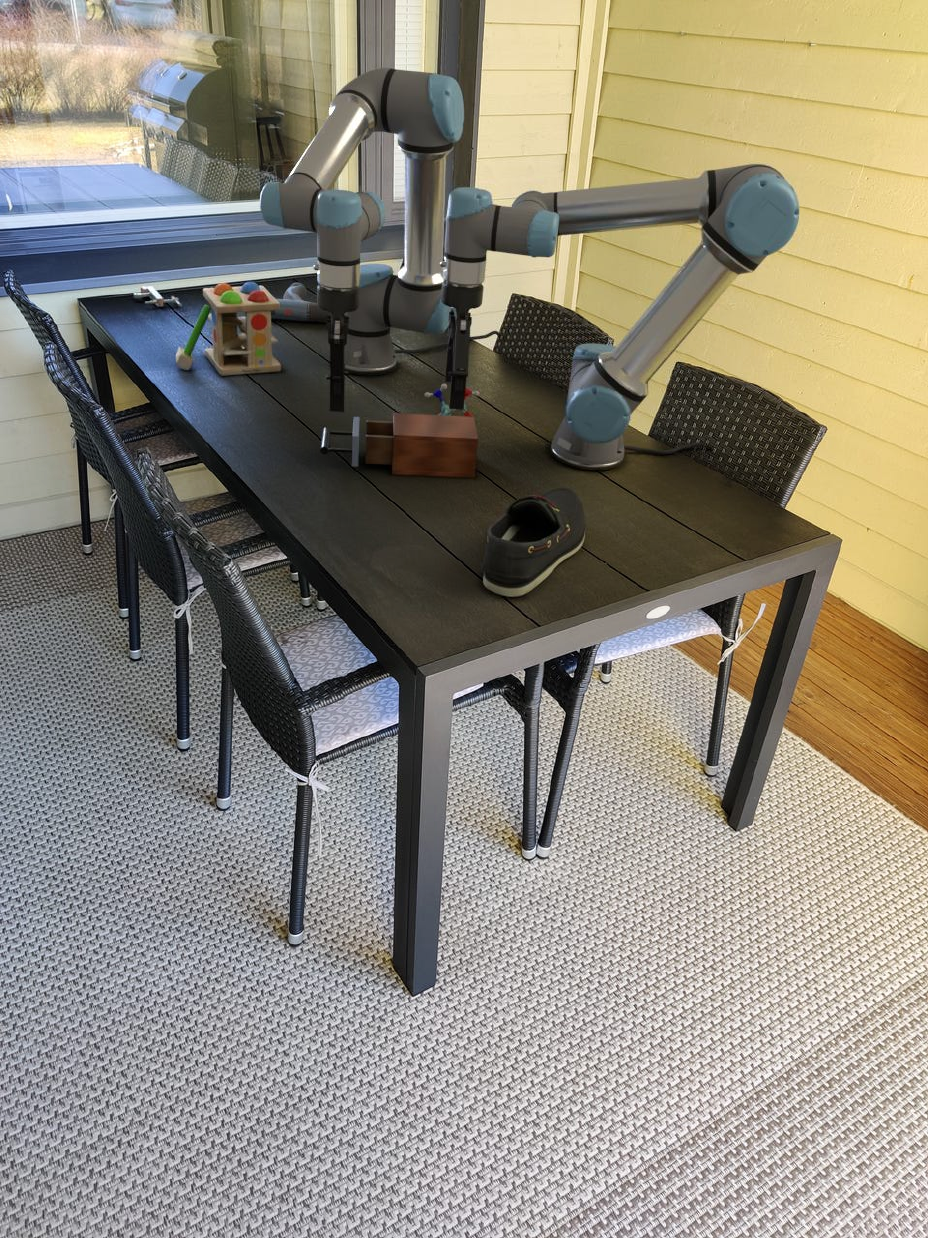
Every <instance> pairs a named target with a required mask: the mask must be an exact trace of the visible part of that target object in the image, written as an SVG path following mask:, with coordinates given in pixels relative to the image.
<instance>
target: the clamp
mask: <svg viewBox="0 0 928 1238" xmlns="http://www.w3.org/2000/svg"><path fill="white" fill-rule="evenodd" d="M133 297H134V299H143V298H149V299H150V300H149V301H144V304H145V305H147V304H149V305H154V304H155V305H156V307H164V305H165V304H171V303H173V304H177V305H178V307H179V308H180V307H183V303H181V302H180V300H179V298H178V297H175V296H174V295H171V296H170V299H164V297H163V296H162V295H161V294H160V293H159V292H158V291H157V290H156V289H155V288H154V287H153V286H151V285H149V286H140V292H134V293H133Z"/></svg>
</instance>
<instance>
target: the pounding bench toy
mask: <svg viewBox="0 0 928 1238" xmlns="http://www.w3.org/2000/svg"><path fill="white" fill-rule="evenodd" d="M202 296H203V298H204V299H205V300H206V301H207V302H208V304H209V305H208V304H204V305H203V307H202V309H201V312H200V313H199V316H198V318H197V320H196V322H195V324H194V327H193V329H192V331H191V332H190V333H191V334H190V336H189V338H188V340H187V343H186V344H185V347H184V348H182V347H180V346H179V347H178V349H177V351H176V354H175V357H174V358H175V362H176V365H177V366H178V368H179V369H182V370H185V371H189V370H190V369H191V367H192V365H193V363H194V356H193V351H194V348H195V347H196V345H197V342H198V340H199V337H200V336H201V333H202V332H203V329H204V326H205V325H206V322H207V320H209V321H210V322H211V336H212V337H211V338H212V339H211V340H212V348H205V349H204V352H205V353H204V355H205V357H206V359H208V361H209V363H210V364H211V365H212V366H213V367H214V369H215V370H216V371H217V372H218V374H219V375H220V376H222V377H223V376H234V375H235V376H236V375H246V374H247V375H250V374H262V373H275V372H281V370H282V364H281V363H280V362H279V360H278V359H277V358H276V357H275V356H274V355H273V348H272V347H273V345H272V344H276V343H278V342H279V341H278V339H277V338H276V337H275V336H274V334H272V318H271V310H280V303H279V302H278V301H277V300H276V299H277V298H276V297H274V296H273V295H272V294H271V293H270V292H269V290H268V289H267V288H266V287H264V285H259V284H257V283H256V282H255V281H247V282H245V283H244V284H243V285H242V286H232V285H230V284H229V283H226V282H221V283H218V284H217V285H216V286H215V287H204V288H203V289H202ZM238 313H244V314H245V315H244V316H238ZM238 329H239V331H240V333H239V334H238Z"/></svg>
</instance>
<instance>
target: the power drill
mask: <svg viewBox="0 0 928 1238" xmlns="http://www.w3.org/2000/svg"><path fill="white" fill-rule="evenodd" d="M307 295H308V290H307V287H306V285H304V284H303V283H301V282H293V283H292V284H291V285H290V286H289V287H288V288H287V289H286V291H285V292H284V294H283V297H282V298H275V299H276V300H277V301H278V302H279V303H280V310H271V319H274V320H275V319H276V320H283V321H294V322H295V321H297V322H327V315H331V312H329V311H325V310H322V309H321V308H319V307H318V305H317V302H313V301H307V300H305V299H306V297H307Z"/></svg>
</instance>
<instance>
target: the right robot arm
mask: <svg viewBox="0 0 928 1238" xmlns="http://www.w3.org/2000/svg"><path fill="white" fill-rule="evenodd" d="M799 202H800V201H799V199H798V195H797V192H796V191H795V189H794V187H793V186H792V185H791V184H790V183H789V181H788V180H787V179H786V178H785V177H784V176H783V174H782V173H781V172H780V171H779V170H777V169H776V168H774V167H772V166H771V165H768V164H763V163H749V164H743V165H737V166H730V167H723V168H719V169H708V170H704V171H703V172H702V173H701V174H700V175H699V176H698V177H693V178H682V179H673V180H662V181H651V182H642V183H631V184H622V185H621V184H620V185H611V186H600V187H592V188H581V189H571V190H562V191H555V192H553V191H552V192H551V191H550V192H541V191H538V190H528V191H525V192H523V193H521V194H520V195H518V196H517V197H516V199H515V200H514V201H513V202H512V204H511V206H505V205H499V204H496V203H494V202H493V195H492V193H491V192H490V191H489V190H487V189H483V188H479V187H471V186H466V187H465V186H463V187H461V186H460V187H456V188H454V189H453V190H452V191H451V192H449V195H448V203H447V211H446V216H445V234H444V235H445V236H444V250H443V261H441V262H440V266H441V267H444V268H443V278H444V279H445V280H444V281H443V282H442V292H441V301H442V303H443V304H444V305H446V306H449V307H451V311H449V325H448V328H447V329H448V330H447V335H446V339H447V341H448V343H447V345H446V346H447V348H446V360H445V361H446V362H445V372H444V382H445V383H450V388H449V389H450V390H449V391H450V392H449V403H448V406H449V409H456V410H458V409H462V410H464V404H465V403H464V400H465V389H467V388H466V387H467V378H468V377H469V359H470V358H469V355H470V340H469V339H470V337H471V327H472V324H473V317H472V314H471V312H469V311H470V310H472V309H477V308H479V307H481V306H482V304H483V298H484V290H485V289H484V288H485V287H484V285H483V283H484V282H485V280H486V270H487V260H488V259H487V255H488V254H487V252H489V251H490V252H494V253H495V252H497V253H503V254H504V253H505V254H511V255H519V256H526V257H531V258H551V257H553V256H554V255H555V252H556V247H557V241H558V237H560V236H570V235H571V236H572V235H581V234H592V233H603V232H605V233H606V232H617V231H627V230H637V229H638V230H639V229H648V228H649V229H650V228H660V227H661V228H663V227H673V226H683V225H694V224H698V225H700V226H701V228H700V233H701V234H700V235H701V240H700V243H699V244H698V245H697V247H696V248H695V249H694V251H693V252H692V253H691V254H690V255H689V256H688V257H687V258H686V260H685V261H684V262H683V264H682V265H681V266H680V267H679V269H678V270H677V272H675V274H674V275H673V276H672V278H671V279H670V280H669V281H668V283H666V285H665V286H664V287H663V288H662V290H661V291H660V292H659V294H658V295H657V296H656V297H655V298H654V300H653V301H652V302H651V303H650V305H648V307H647V308H646V309H645V311H644V312H643V313H642V314H641V316H640V317H639V319H638V320H637V321H636V322H635V323H634V324H633V326H632V327H631V328H630V329H629V331H628V332H627V333H626V334H625V336H624V337H623V338H622V339H621V341H620V342H619V343H618V344H617V345H616V346H615V345H610V344H604V343H583V344H579V345H577V346H576V347H575V349H574V352H573V356H572V357H571V360H572V363H571V371H570V378H569V382H568V383H569V384H568V390H567V396H566V404H565V410H564V416H563V418H562V420H561V423H560V424H559V426H558V428H557V430H556V432H555V435H554V436H553V438H552V441H551V445H550V454H551V456H552V457H553V458H554V459H555V460H556V461H558V462H560V463H562V464H563V465H566V466H568V467H571V468H575V469H578V470H585V471H597V472H598V471H599V472H601V471H608V470H613V469H615V468H618V467H619V466H621V465H622V463H623V462H624V459H625V451H630V452H631V451H632V452H638V453H644V454H645V453H646V454H652V455H672V454H675V453H677V452H680V451H682V450H689V449H692V448H698V447H702V446H701V445H702V444H701V443H700V442H701V441H699V442H692V443H688V444H683V445H679V446H676V447H674V448H671V449H663V450H662V449H651V448H645V447H637V446H631V445H624V444H625V443H624V438H623V434H624V433H625V432H626V430H627V428H628V426H629V425H630V421H631V415H632V414H633V413H634V412H635V411H636V409H637V408H638V407H639V406H640V405H641V404H642V402H643V401H644V400H645V399H646V397H647V396H649V381H650V380H651V379H652V378H653V377H654V375H655V374H656V373H657V372H658V371H659V370H660V368H661V367H662V366H663V365H664V364H665V363H666V361H667V360H668V359H669V358H670V357H671V356H672V355H673V354H674V352H675V351H676V350H677V349H678V347H679V346H680V345H681V344H682V343H683V341H684V340H685V339H686V338H687V337H688V336H689V334H690V333H691V332H692V331H693V330H694V329H695V328H696V326H697V325H698V324H699V323H700V321H701V320H702V319H704V317H705V315H707V313H708V312H709V311H710V309H712V307H713V306H714V305H715V304H716V303H717V302H718V300H719V299H720V298H721V297H722V296H723V295H724V294H725V292H726V291H727V290H728V289H729V287H730V286H731V285H732V284H733V283H734V281H735V280H736V279H737V278H738V277H739V276H740V275H743V274H753V273H754V271H755V270H756V269H757V268H758V267H759V266H760V265H761V264H762V262H763V261H765V259H766V258H767V257H768V256H770V255H773V254H775V253H777V252H778V251H780V250H781V249H783V248H784V247H785V246H786V245H787V244H788V243H789V242H790V240H791V239H792V238H793V236H794V234H795V232H796V230H797V228H798V225H799V221H800V204H799ZM447 341H446V342H447ZM465 401H466V400H465ZM704 447H706V448H708V449H709V450H710V451H713V452H714V451H716V448H715V447H714V448H715V449H714V448H712V447H710V446H704Z"/></svg>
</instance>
